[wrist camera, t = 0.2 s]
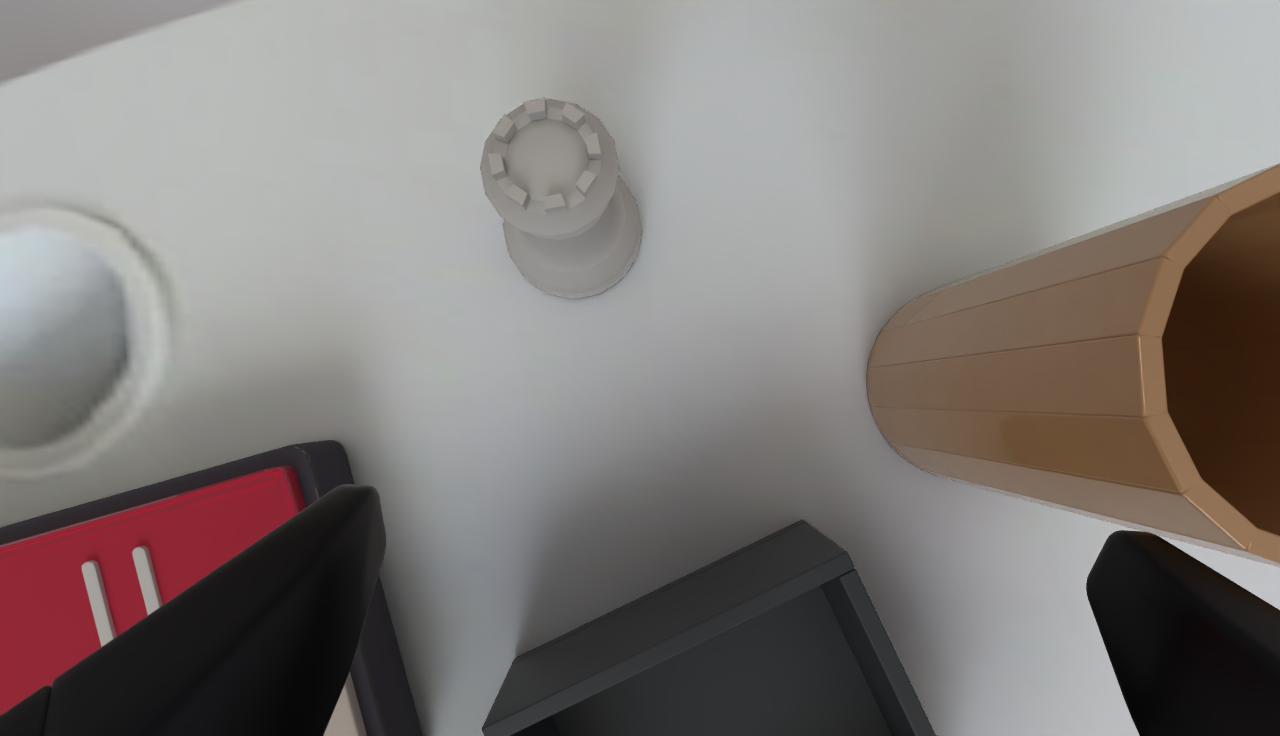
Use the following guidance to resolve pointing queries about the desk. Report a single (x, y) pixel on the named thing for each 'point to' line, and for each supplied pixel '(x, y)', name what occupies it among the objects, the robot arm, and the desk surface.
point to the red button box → (176, 574)
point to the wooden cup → (1110, 373)
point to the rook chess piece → (561, 198)
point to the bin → (724, 657)
